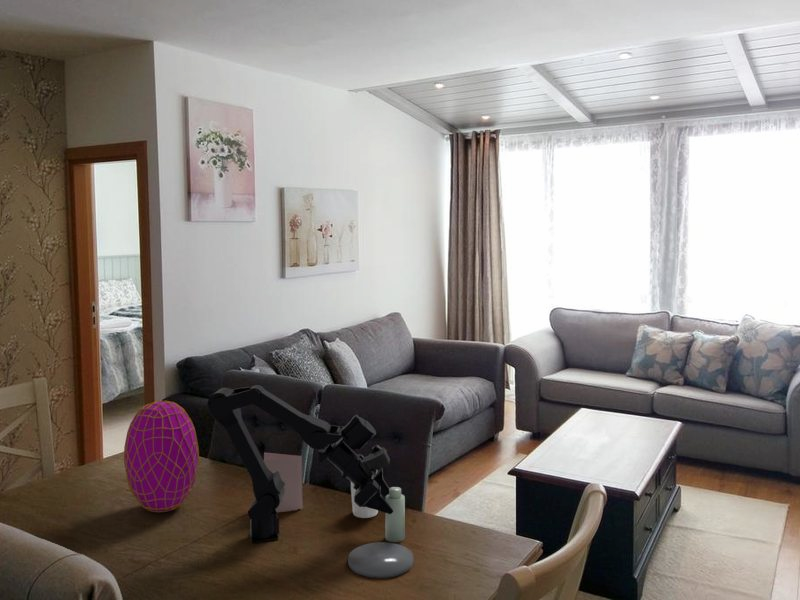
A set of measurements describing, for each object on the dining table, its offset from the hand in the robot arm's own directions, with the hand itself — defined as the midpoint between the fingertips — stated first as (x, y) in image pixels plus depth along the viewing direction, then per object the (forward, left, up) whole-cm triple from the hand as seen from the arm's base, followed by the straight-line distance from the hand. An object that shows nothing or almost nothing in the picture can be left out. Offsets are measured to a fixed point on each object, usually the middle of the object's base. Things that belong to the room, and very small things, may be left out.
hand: (392, 505), depth 167 cm
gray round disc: (-6, -11, -8) cm, 15 cm away
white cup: (-2, +17, -9) cm, 19 cm away
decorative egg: (-54, +37, -9) cm, 66 cm away
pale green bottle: (+1, 0, -8) cm, 8 cm away
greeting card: (-24, +26, -9) cm, 37 cm away
